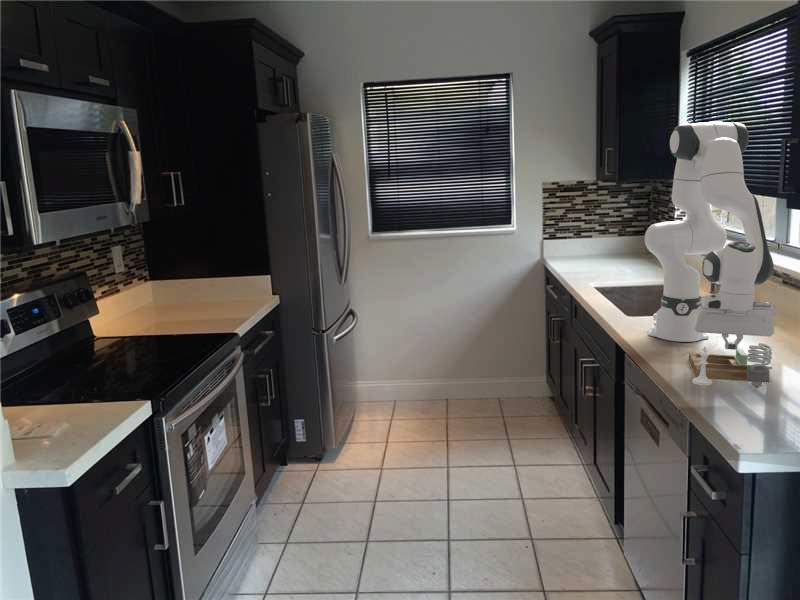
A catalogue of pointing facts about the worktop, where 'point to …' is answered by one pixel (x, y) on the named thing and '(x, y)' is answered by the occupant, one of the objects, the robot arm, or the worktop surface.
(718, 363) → the board
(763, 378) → the light bulb
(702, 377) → the chess piece
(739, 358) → the cover
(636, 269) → the worktop surface
